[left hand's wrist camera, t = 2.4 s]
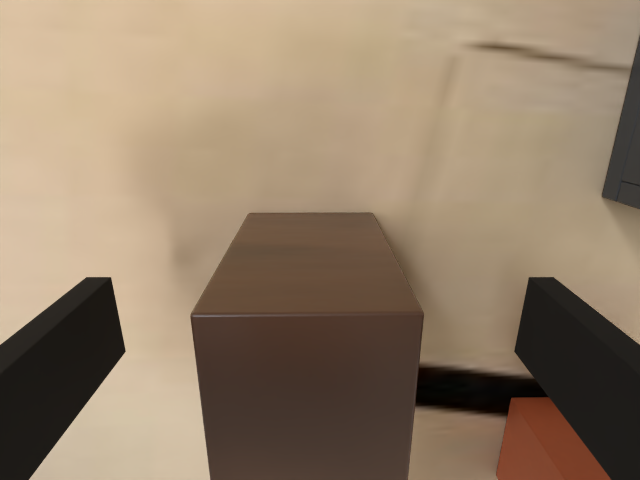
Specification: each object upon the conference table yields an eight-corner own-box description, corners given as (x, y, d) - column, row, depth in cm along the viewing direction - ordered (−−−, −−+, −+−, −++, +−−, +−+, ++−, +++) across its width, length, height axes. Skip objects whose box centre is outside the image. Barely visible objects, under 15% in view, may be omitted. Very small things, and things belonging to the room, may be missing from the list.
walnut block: (367, 321, 18) (408, 486, 10) (254, 322, 18) (210, 489, 10) (372, 212, 16) (425, 312, 8) (247, 212, 16) (189, 313, 8)
